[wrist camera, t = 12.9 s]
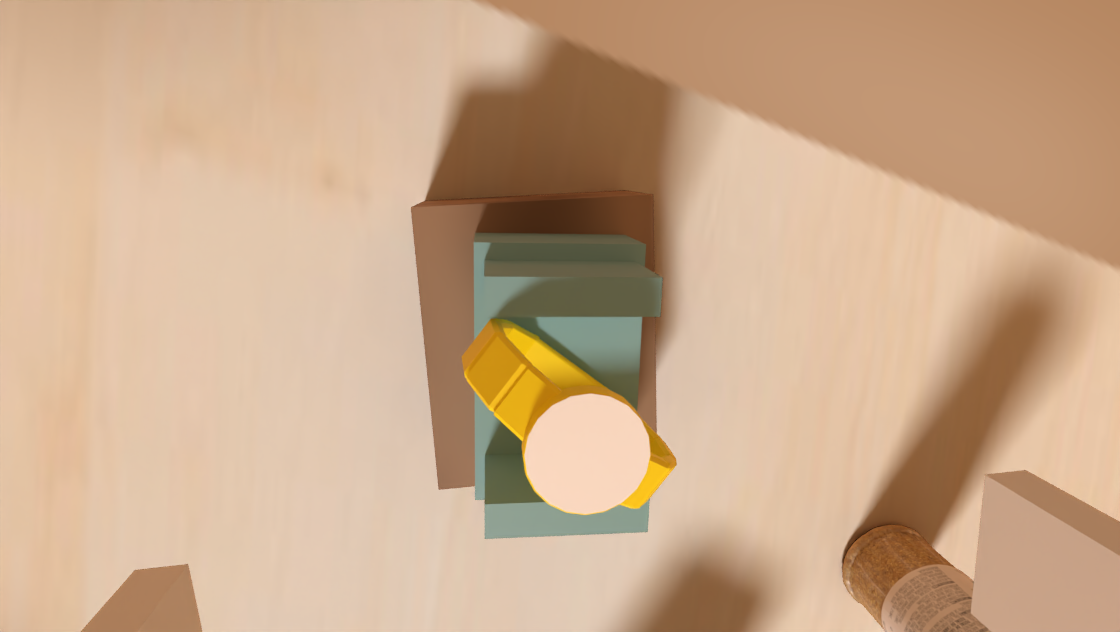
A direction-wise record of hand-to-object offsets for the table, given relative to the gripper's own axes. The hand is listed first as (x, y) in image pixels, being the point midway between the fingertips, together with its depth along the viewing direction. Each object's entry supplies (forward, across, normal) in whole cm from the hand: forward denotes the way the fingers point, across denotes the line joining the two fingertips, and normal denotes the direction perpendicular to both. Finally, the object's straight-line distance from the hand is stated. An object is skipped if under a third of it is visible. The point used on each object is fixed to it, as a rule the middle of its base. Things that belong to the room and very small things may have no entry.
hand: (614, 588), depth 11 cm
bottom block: (+17, 0, +1) cm, 17 cm away
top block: (+12, 0, +1) cm, 12 cm away
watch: (+9, 0, +1) cm, 9 cm away
